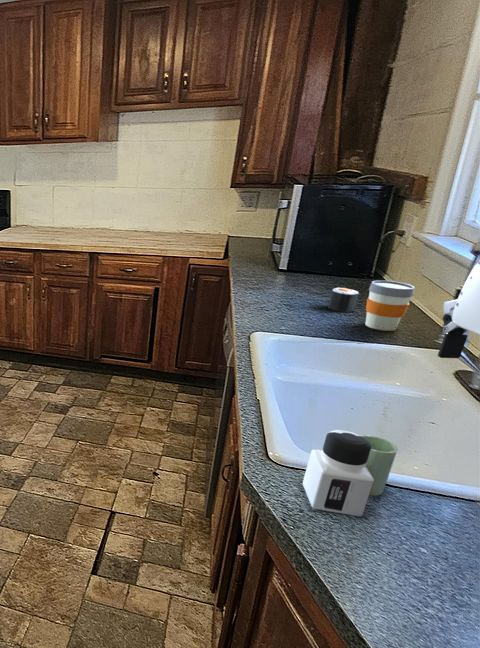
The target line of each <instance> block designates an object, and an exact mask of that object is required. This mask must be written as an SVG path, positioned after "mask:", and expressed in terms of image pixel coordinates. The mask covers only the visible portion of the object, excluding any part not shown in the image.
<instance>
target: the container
mask: <svg viewBox="0 0 480 648" xmlns="http://www.w3.org/2000/svg"><path fill="white" fill-rule="evenodd" d="M362 436H363V435H360V434H359V433H356V432H353V431H350V430H341V429H336V430H331V431H329V432H328V433H327V434H326V436H325V440H324V442H323V446H322V450H321V449H312V450H311V451H310V454H309V458H308V462H307V466H306V469H305V473H304V477H303V480H302V487H303V488H304V491H305V494H306V496H307V499H308V501H309V504H310V506H311V508H312V509H313V510H319V511H325V512H329V513H335V514H343V515H349V516H354V517H359V518H360V517H363V515H364V512H365V508H366V505H367V503H368V500H369V497H370V495H369V494H370V491H371V488H372V485H373V482H374V479H373V477H372V476H371V474H370V473H369V471H368V469H367V468H366V463H367V460H368V457H369V454H370V451H371V448H372V446H371V444H370V442H369V441H368V440H367V439H366V438H364V437H362Z"/></svg>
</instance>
